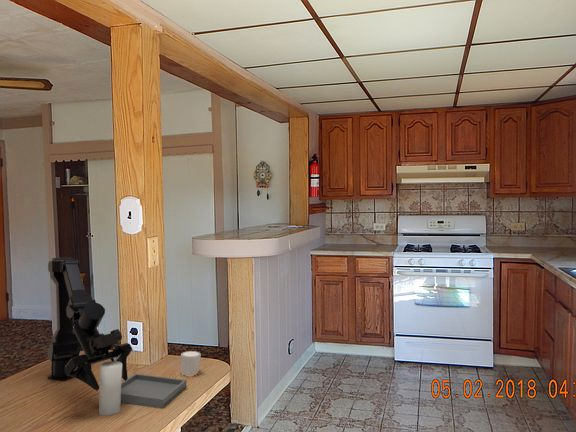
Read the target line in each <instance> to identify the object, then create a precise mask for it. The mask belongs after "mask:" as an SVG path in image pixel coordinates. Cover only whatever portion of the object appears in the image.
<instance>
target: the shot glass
mask: <svg viewBox="0 0 576 432" xmlns="http://www.w3.org/2000/svg"><path fill="white" fill-rule="evenodd" d="M201 355H202V354H201V352H199V351H195V350H189V351H183V352H182V353H181V354H180V361H181V362H180V365H181V375H182V374H183V375H192V374H195V373H197V372H198V371H200V363H201V358H202V357H201ZM198 373H199V372H198ZM183 375H182V376H183Z"/></svg>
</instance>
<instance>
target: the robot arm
mask: <svg viewBox="0 0 576 432" xmlns="http://www.w3.org/2000/svg"><path fill="white" fill-rule="evenodd" d="M47 269H48V273H49V276H50V279H51V280H52V282H53V283H54V284H55V300H56V327H57V328H56V330H55V332H54V334H53V335H52V337H51V342H50V343H49V347H48V350H47V359H48V360H49V361H50V362H51V370H50V371H51V372H50V375H48V376H47V379H50V378H51V379H52V380H56V381H57V380H58V381H67V380H68V379H70V378H73V379H74V378H76V379H78V380H79V381H81V382H83V383H85V384H86V385H88V386H89V387H91V388H92V389H94V390H95V391H100V384H99V383H98V381H97V378H96V377H95V374H94V373H93V370H92V365H94V364H97V363H100V362H104V361H107V360H110V362H111V361H117V362H121V363H122V380H123V381H126V380H127V379H128V378H129V376H128V369H127V368H128V367H127V359H128V357H129V355H130V354H131V352H132V351H133V350H134V349H133V347H132V346H131V344H130V343H129V342H124V343H122V344H119V343H120V342H119V341H120V340H122V339H123V336H122V332H121V331H120V330H119V328H117V329H113V330H111V331H110V333H107V334H106V333H105V334H104V333H100V331H99V329H98V327H99V326H100V325H101V322H102V320H103V318H104V317H105V314H106V308H105V307H104V305H102V304H100V303H98V302H97V301H96V299H93V296H92V295H90V294H89V293H87V292H86V289H85V286H84V282H83V279H82V274H81V270H80V260H77V259H74V258H73V256H72V257H71V256H70V257H52V259H51V261H50V260H49V261H48V263H47ZM73 321H76V322H75V324H73ZM115 344H116V346H115V348H114V349H113V350H111V349H112V348H113V345H115ZM109 350H111V351H109ZM81 352H83V354H80V353H81Z"/></svg>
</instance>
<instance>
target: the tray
mask: <svg viewBox="0 0 576 432" xmlns="http://www.w3.org/2000/svg"><path fill="white" fill-rule="evenodd" d="M185 388H186V389H187V379H182V378H181V379H180V378H173V377H166V376H158V375H157V376H156V375H150V374H142V373H134V374H132V375H130V376H128V379H127V380H126V381H124V380H123V381H122V382H121V403H123V404H130V405H135V406H136V405H137V406H143V407H151V408H159V409H163V408H165V407H166V406H167V405H168V404H169V403H171V402H172V401H173V400H174V399H175V398H177V396H179V395H180V394H181V393H182V392H183V391H185Z"/></svg>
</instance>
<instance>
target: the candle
mask: <svg viewBox="0 0 576 432" xmlns="http://www.w3.org/2000/svg"><path fill="white" fill-rule="evenodd" d="M99 374H100V375H99V377H100V379H99V395H98V400H99V401H98V414H99V415H101V416H106V417H107V416H113V415H116V414H118V413H120V412H121V403H122V402H121V382H123V381H122V380H123V378H122V363H121V362H117V361H111V360H110V361H106V362H104V363H101V364H100V373H99Z"/></svg>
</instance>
